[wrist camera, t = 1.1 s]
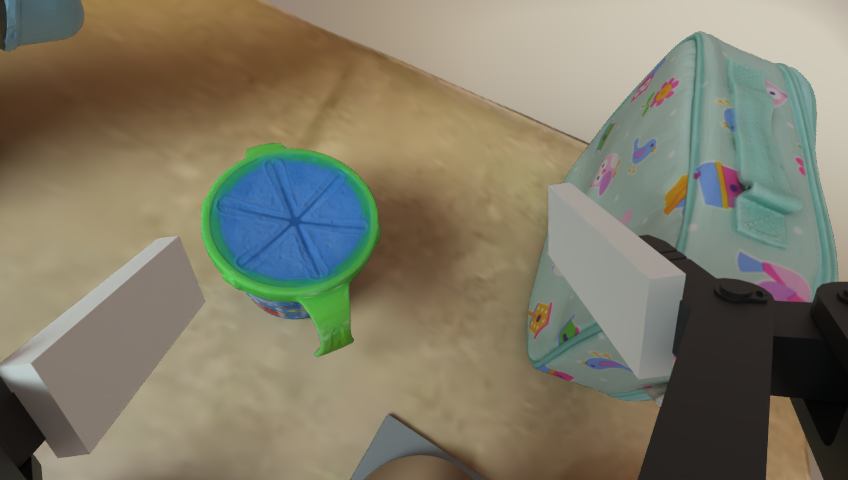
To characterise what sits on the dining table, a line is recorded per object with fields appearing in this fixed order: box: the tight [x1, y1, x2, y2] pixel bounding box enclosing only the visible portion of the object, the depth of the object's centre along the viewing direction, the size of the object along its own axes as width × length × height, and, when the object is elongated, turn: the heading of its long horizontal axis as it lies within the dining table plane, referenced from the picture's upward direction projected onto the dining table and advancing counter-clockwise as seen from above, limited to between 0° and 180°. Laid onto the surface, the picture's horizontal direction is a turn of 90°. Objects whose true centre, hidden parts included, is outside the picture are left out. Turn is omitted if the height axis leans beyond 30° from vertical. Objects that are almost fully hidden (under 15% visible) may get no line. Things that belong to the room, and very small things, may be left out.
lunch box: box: [527, 31, 838, 407], centre depth 33 cm, size 27×10×21 cm, turn 159°
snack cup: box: [201, 143, 381, 357], centre depth 30 cm, size 16×10×10 cm
